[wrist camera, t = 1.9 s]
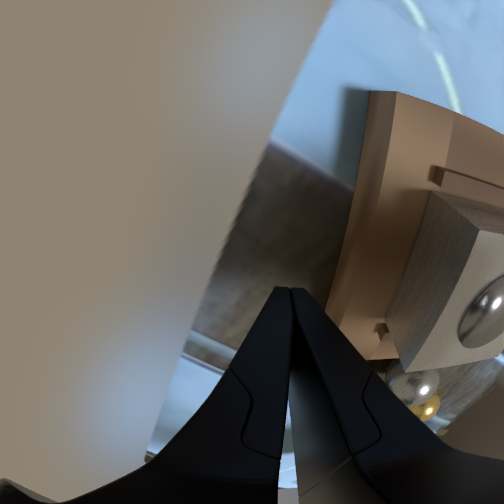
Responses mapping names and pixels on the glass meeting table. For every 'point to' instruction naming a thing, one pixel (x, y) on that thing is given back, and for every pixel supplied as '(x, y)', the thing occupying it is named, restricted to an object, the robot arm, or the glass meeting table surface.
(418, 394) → the steel ball
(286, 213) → the glass meeting table surface
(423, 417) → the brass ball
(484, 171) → the housing plate
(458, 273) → the grey sliding block
